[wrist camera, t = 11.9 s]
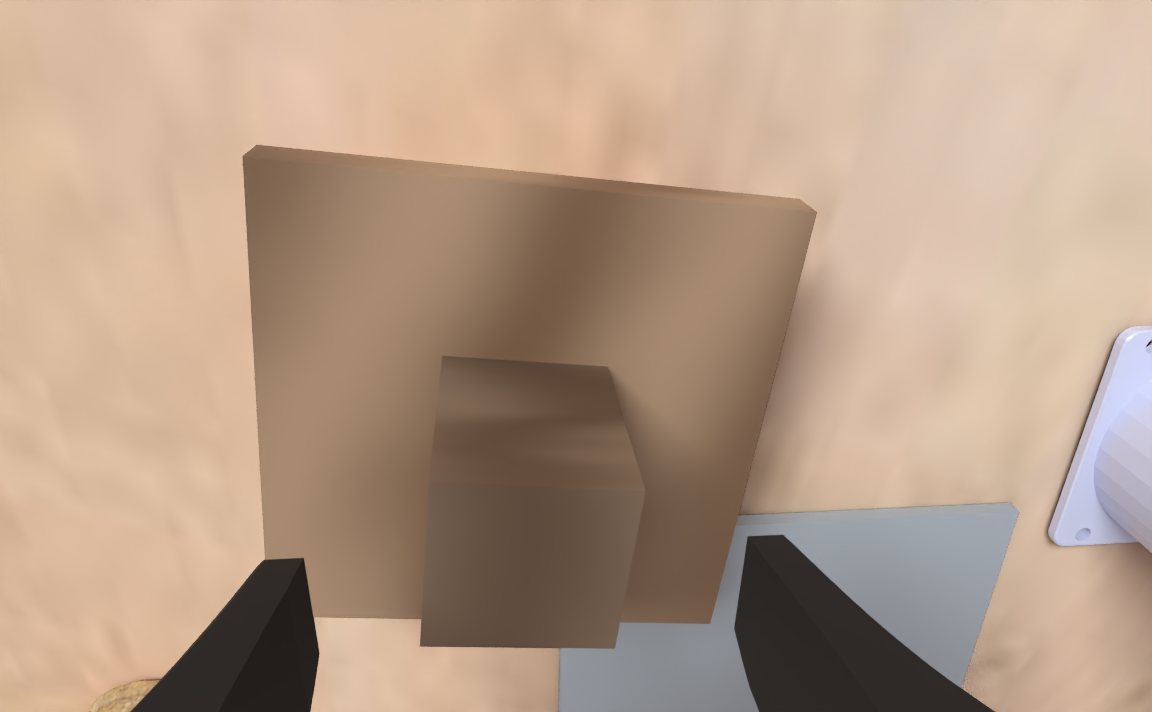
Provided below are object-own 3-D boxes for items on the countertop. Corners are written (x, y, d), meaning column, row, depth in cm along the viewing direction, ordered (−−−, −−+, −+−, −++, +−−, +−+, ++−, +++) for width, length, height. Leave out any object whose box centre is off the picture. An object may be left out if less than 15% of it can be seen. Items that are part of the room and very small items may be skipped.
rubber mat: (1010, 502, 27) (1019, 511, 26) (915, 796, 33) (921, 808, 33) (561, 523, 25) (563, 533, 25) (556, 827, 32) (557, 840, 31)
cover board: (799, 199, 17) (928, 295, 12) (700, 596, 22) (764, 782, 17) (256, 144, 15) (148, 230, 10) (277, 587, 20) (211, 790, 15)
